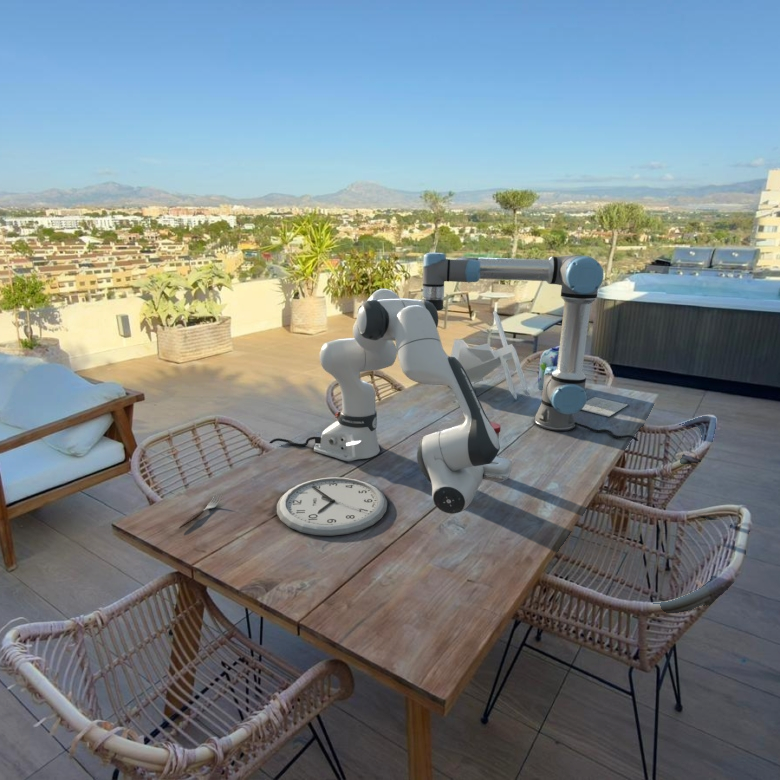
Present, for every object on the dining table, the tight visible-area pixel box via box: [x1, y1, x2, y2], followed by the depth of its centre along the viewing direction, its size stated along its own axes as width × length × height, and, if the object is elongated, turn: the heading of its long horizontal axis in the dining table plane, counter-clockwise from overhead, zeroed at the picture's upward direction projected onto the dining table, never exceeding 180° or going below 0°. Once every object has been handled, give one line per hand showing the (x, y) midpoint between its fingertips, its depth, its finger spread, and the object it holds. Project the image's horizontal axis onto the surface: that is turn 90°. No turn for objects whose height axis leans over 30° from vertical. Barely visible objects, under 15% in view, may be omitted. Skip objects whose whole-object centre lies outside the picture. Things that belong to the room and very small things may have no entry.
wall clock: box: [276, 476, 388, 537], centre depth 142 cm, size 30×2×30 cm
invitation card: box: [580, 396, 629, 418], centre depth 226 cm, size 21×1×15 cm
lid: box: [489, 421, 501, 434], centre depth 158 cm, size 6×6×2 cm
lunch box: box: [537, 345, 560, 391], centre depth 246 cm, size 26×11×21 cm, turn 134°
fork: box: [178, 493, 223, 529], centre depth 137 cm, size 3×16×2 cm, turn 160°
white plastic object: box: [450, 310, 531, 400], centre depth 245 cm, size 37×45×31 cm
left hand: (476, 453), depth 140 cm, fingers open, 8 cm apart
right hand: (430, 357), depth 190 cm, fingers open, 13 cm apart
